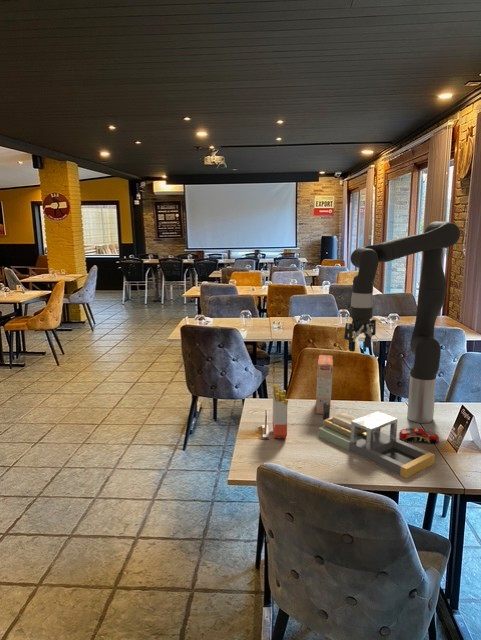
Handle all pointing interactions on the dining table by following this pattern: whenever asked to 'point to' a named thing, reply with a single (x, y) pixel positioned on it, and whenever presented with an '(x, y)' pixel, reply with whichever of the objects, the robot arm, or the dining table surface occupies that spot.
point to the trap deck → (384, 451)
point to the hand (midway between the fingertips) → (359, 349)
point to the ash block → (344, 420)
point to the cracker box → (324, 382)
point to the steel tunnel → (373, 427)
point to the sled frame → (328, 423)
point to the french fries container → (279, 413)
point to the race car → (418, 435)
